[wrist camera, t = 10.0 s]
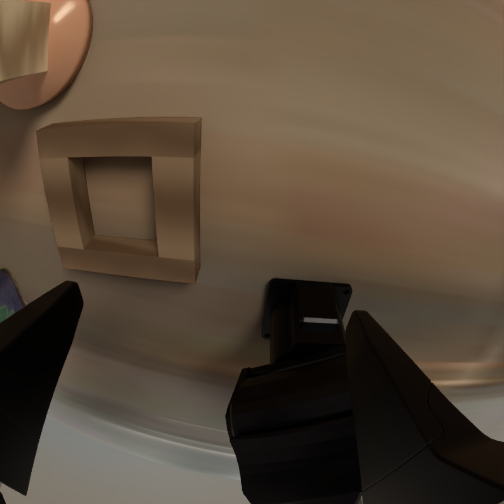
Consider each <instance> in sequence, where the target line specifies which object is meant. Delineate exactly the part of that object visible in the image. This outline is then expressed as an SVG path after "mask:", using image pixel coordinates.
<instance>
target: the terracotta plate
mask: <svg viewBox="0 0 504 504" xmlns="http://www.w3.org/2000/svg"><path fill="white" fill-rule="evenodd" d="M24 1H36V2H46V3H51V9H50V20H49V37H48V71H46V72H42V73H37V74H34V75H30V76H26V77H22V78H19V79H15V80H12V81H9V82H5V83H1V84H0V102H1V103H3V104H4V105H6V106H8V107H10V108H13V109H19V110H24V109H30V108H34V107H37V106H40V105H43V104H45V103H47V102H49V101H51V100H53V99H54V98H56V97H57V96H58V95H59V94H61V93H62V92H63V91H64V90H65V89H66V88H67V87H68V86H69V84H70V83H71V82H72V81H73V79H74V78H75V76H76V75H77V73H78V72H79V70H80V68H81V66H82V64H83V62H84V60H85V57H86V55H87V52H88V49H89V46H90V41H91V37H92V29H93V16H92V9H91V5H90V1H89V0H24Z"/></svg>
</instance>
